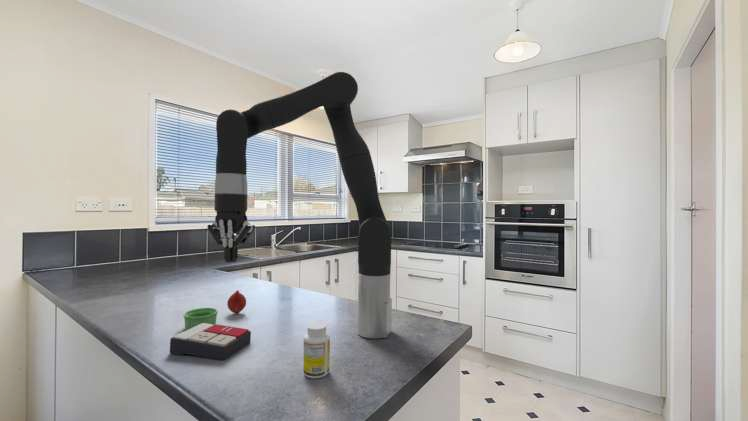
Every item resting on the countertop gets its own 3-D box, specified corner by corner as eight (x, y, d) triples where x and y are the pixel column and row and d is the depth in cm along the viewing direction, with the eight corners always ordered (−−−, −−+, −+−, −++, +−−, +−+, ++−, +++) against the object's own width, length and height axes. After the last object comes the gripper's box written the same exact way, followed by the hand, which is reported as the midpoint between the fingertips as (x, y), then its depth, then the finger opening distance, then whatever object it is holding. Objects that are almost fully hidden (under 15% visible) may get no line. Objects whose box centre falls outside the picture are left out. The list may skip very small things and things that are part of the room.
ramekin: (193, 335, 90) (194, 319, 90) (176, 328, 95) (177, 313, 95) (223, 325, 98) (224, 311, 98) (206, 319, 103) (206, 305, 103)
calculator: (225, 344, 75) (169, 335, 78) (223, 363, 75) (168, 353, 78) (252, 328, 86) (202, 320, 89) (250, 344, 86) (201, 336, 89)
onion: (223, 315, 107) (223, 291, 107) (236, 310, 112) (236, 287, 112) (236, 317, 105) (237, 293, 105) (249, 312, 110) (250, 289, 110)
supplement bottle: (318, 364, 74) (318, 319, 74) (334, 372, 70) (335, 325, 70) (297, 373, 70) (298, 326, 70) (314, 382, 66) (315, 332, 66)
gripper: (263, 193, 83) (262, 261, 83) (220, 193, 87) (220, 258, 87) (243, 191, 76) (243, 266, 76) (198, 192, 80) (197, 263, 79)
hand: (230, 262), depth 81 cm, fingers closed
